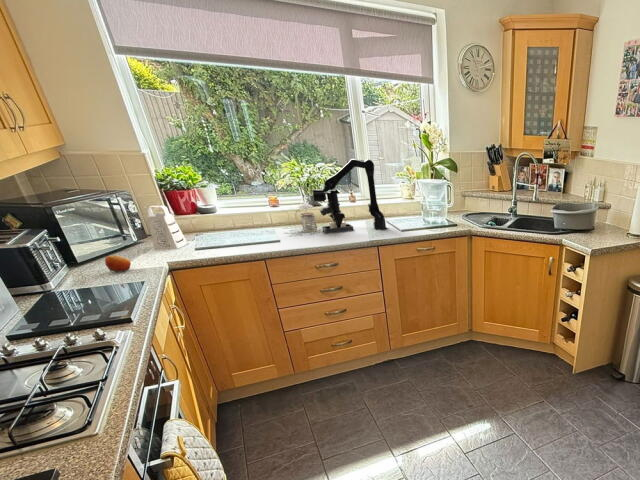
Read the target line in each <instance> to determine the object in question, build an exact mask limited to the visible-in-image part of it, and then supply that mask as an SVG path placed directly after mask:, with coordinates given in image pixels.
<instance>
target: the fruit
mask: <svg viewBox="0 0 640 480" xmlns="http://www.w3.org/2000/svg"><path fill="white" fill-rule="evenodd" d="M104 264H105V267H107V269H108V270H109V271H110V272H114V275H116V274H117V273H118V272H128V271H129V270H130V269H131V264H132V263H131V260H130V259H128V258H127V257H125V256H121V255H116V254H113V255H107V256H106V257H105V259H104Z"/></svg>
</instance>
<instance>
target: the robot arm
mask: <svg viewBox="0 0 640 480" xmlns="http://www.w3.org/2000/svg"><path fill="white" fill-rule="evenodd" d="M354 168H361V169H364V170H365V174H366V177H367V185H368V192H369V193H368V194H369V200H370V201H369V203H367V206H368V213H370V215H371V216H372V218H373V221H372V224H373V229H375V230H377V231H380V230H387V229H388V227H387V225H386V224H387V223H386V218H385V215H384V213H383V212H382V211H381V210H380V208H379V204H378V200H377V194H376V186H375V176H374V175H375V164H374V161H373V160H371V159H369V158H367V159H355V158H351V159H350V160H349V161H348V163H346V164H345V165H344V166H343V167H342V168H341V169H340V170H338V172H336V173H335V174H333V175H331V176H330V177H328V178H326V179H325V182H324V187H322V189H316V188H315V189H312V195H313V196H312V197H313V201H314V202H313V203H323V202H324V203H325V202H326V201H327V205H326V206H323V207H322V208H319V212H320V214H321V215H322V216H323V217H324V216H326V215H328V217H330V218H331V219H332V222H336V224H337V227H338V228H340V227H341V223H342V221H344V219H346V215H345V213H343V212H342V210H341V208H340V206H341V203H340V202H339V197H338V194H341V191H340V190H338V188H336V187H337V186H338V184H339V183H340V181H341V180H342V179H343V178H344V177H345V176H346V175H347V174H349V173H350V172H351V171H352V170H353V169H354ZM335 188H336V189H335ZM334 189H335V190H334Z"/></svg>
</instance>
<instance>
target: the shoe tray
mask: <svg viewBox="0 0 640 480" xmlns="http://www.w3.org/2000/svg"><path fill="white" fill-rule="evenodd" d="M321 229H322V231H323V233H325V234H334V233H343V232H351V231H352V232H353V231H354V226H353V225H352V224H350V223H346V227H340V228H330V225H323V226H322V227H321Z"/></svg>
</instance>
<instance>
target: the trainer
mask: <svg viewBox="0 0 640 480" xmlns="http://www.w3.org/2000/svg"><path fill="white" fill-rule="evenodd" d="M328 224H329V225H328V226H330V228H338V227H337V224H336V222H334V221H330V222H328ZM346 224H347V223H346V221H344V220H342V223H341V227H346Z"/></svg>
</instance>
